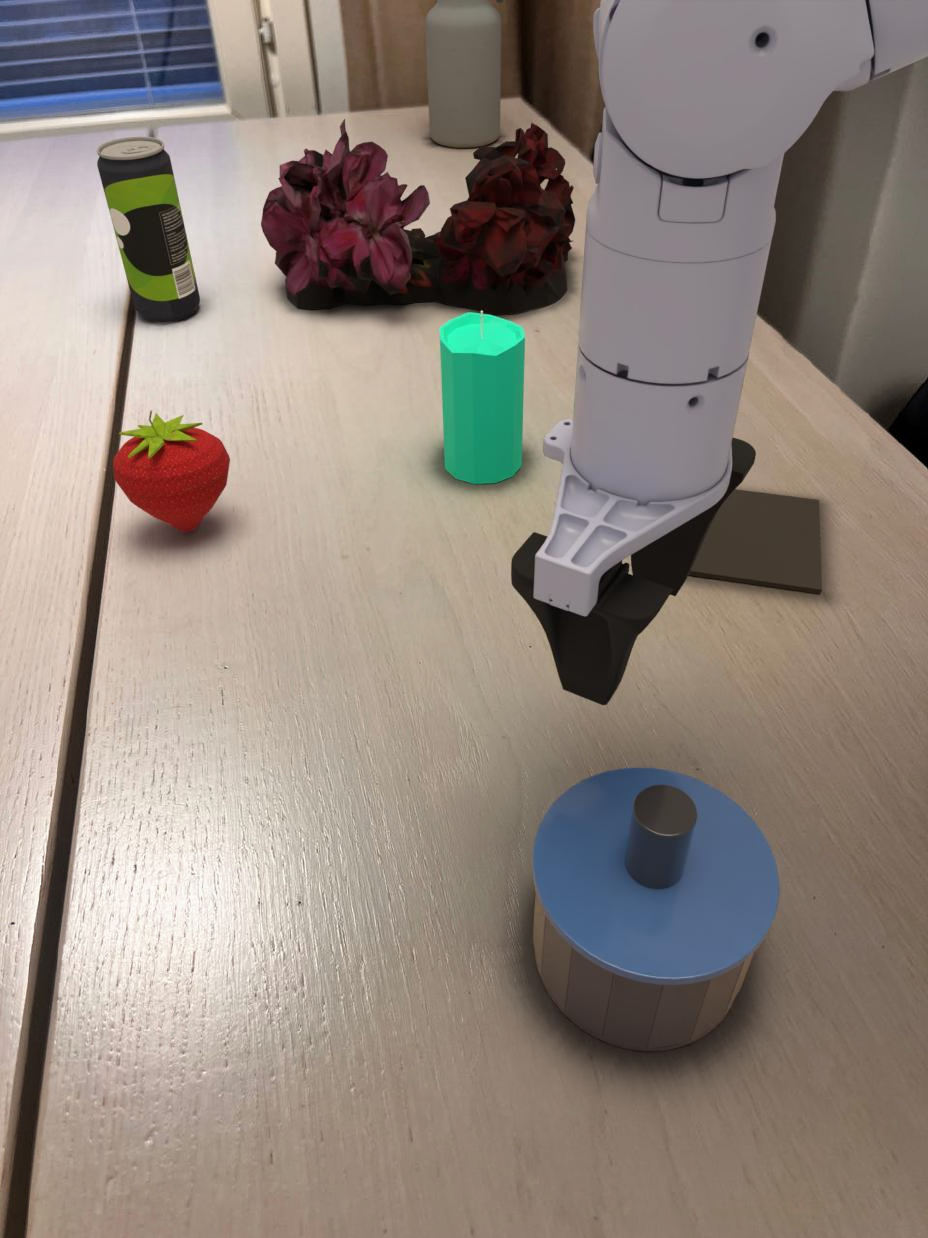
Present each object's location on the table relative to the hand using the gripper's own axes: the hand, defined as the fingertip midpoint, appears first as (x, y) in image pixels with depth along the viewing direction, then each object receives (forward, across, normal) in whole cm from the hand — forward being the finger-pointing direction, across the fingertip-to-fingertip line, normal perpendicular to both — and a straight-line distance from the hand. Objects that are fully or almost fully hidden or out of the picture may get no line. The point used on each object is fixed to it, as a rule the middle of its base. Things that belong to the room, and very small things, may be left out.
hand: (624, 635), depth 41 cm
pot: (+12, +7, +5) cm, 14 cm away
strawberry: (+12, -7, -34) cm, 37 cm away
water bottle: (+12, -93, -62) cm, 113 cm away
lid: (+5, +7, +5) cm, 10 cm away
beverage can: (+12, -32, -61) cm, 70 cm away
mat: (+12, -25, -1) cm, 27 cm away
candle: (+12, -24, -21) cm, 34 cm away
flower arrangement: (+12, -49, -42) cm, 66 cm away
